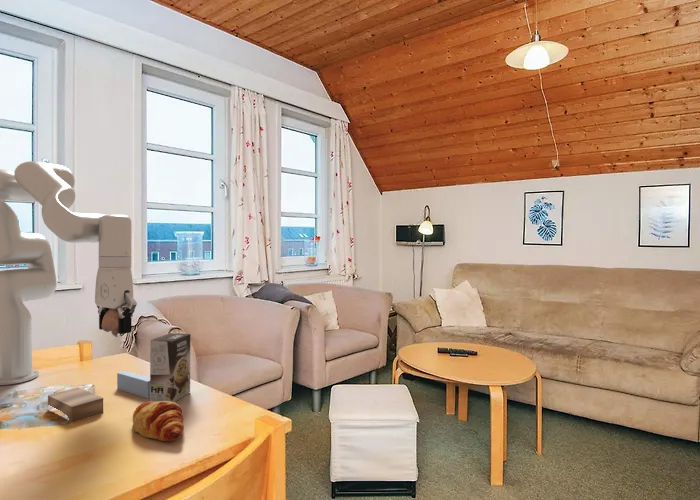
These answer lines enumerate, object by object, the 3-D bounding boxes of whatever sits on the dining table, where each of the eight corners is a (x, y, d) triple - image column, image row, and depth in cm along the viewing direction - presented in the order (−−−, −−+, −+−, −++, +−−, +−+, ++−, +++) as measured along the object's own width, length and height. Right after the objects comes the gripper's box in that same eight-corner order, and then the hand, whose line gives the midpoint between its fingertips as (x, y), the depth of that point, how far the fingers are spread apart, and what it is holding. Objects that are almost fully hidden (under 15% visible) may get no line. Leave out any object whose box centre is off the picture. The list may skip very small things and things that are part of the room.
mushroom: (129, 338, 117) (130, 307, 117) (102, 341, 114) (102, 309, 114) (126, 332, 124) (127, 303, 123) (101, 334, 121) (101, 304, 120)
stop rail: (117, 388, 126) (117, 372, 126) (125, 386, 129) (125, 370, 128) (147, 398, 120) (147, 381, 120) (155, 395, 122) (155, 379, 122)
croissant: (128, 433, 107) (110, 407, 104) (166, 403, 113) (150, 378, 111) (166, 465, 92) (147, 436, 89) (207, 429, 98) (190, 400, 96)
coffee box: (171, 404, 116) (172, 341, 115) (149, 402, 117) (149, 339, 116) (191, 392, 125) (191, 333, 124) (170, 390, 126) (170, 332, 125)
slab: (48, 411, 111) (47, 395, 111) (78, 403, 117) (78, 387, 117) (72, 424, 104) (72, 406, 104) (103, 414, 110) (103, 397, 110)
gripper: (81, 261, 120) (81, 328, 120) (121, 265, 110) (121, 338, 111) (109, 260, 126) (109, 324, 127) (149, 264, 117) (149, 332, 118)
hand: (115, 330), depth 119 cm, fingers closed on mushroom, 7 cm apart
